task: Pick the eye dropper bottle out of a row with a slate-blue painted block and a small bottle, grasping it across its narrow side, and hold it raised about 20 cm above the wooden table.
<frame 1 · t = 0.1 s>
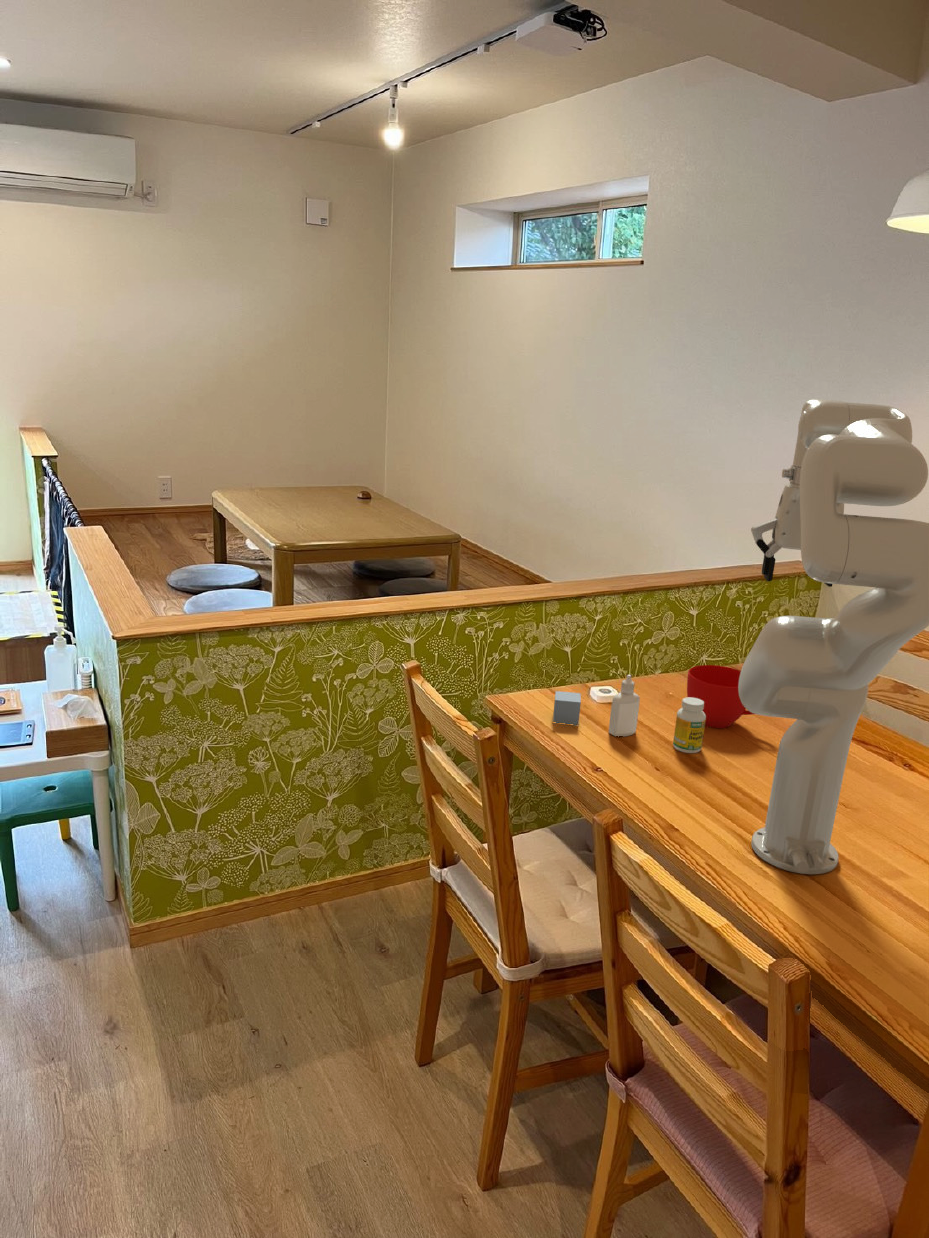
hand: (797, 582, 157), 37 cm above the table, tool pointing down, fingers open, 9 cm apart
eye dropper bottle: (621, 733, 185), on the table
slate block: (565, 719, 190), on the table
supplement bottle: (686, 748, 180), on the table
ceramic cup: (723, 725, 193), on the table
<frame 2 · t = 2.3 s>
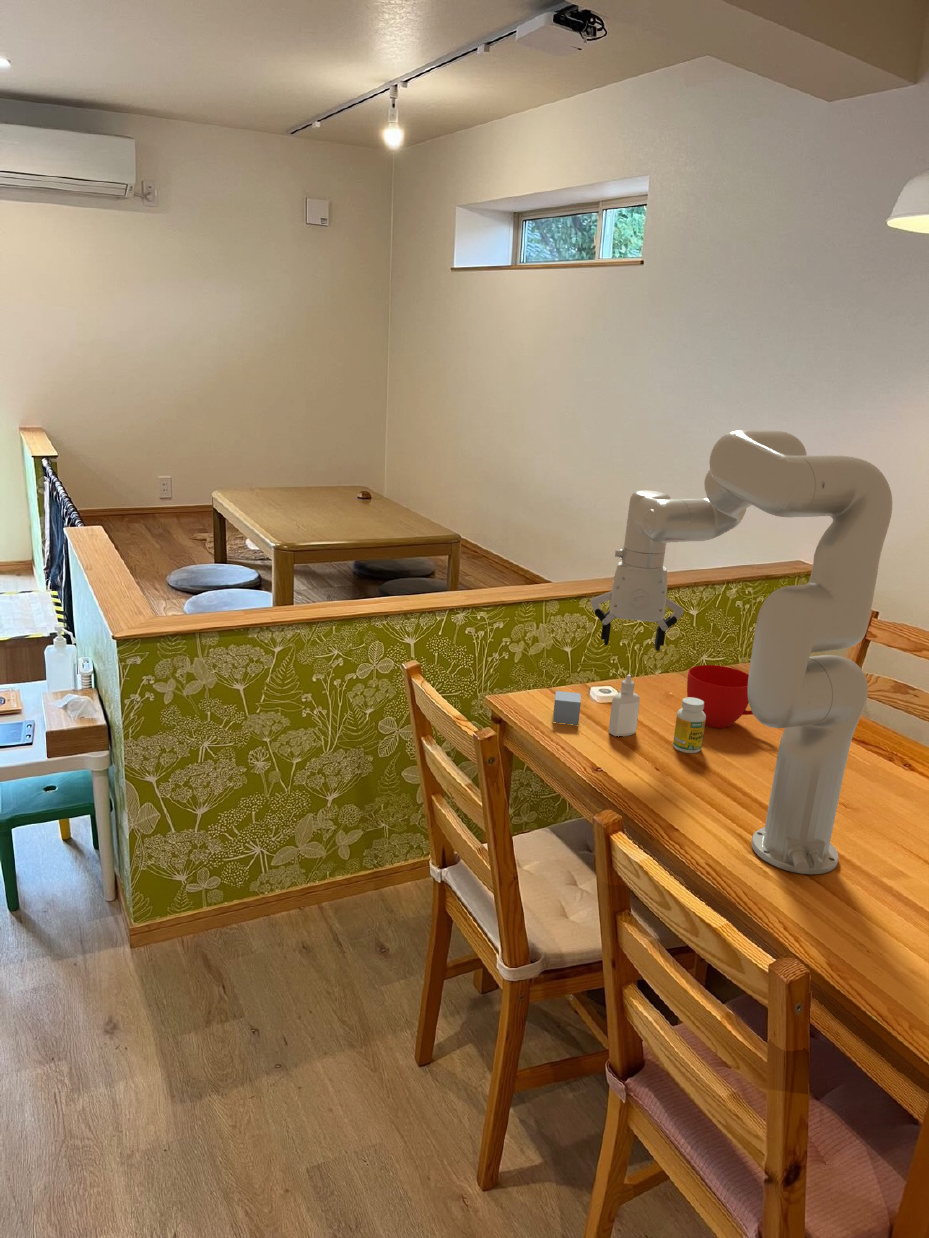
hand: (631, 645, 180), 18 cm above the table, tool pointing down, fingers open, 9 cm apart
nothing on the table moved.
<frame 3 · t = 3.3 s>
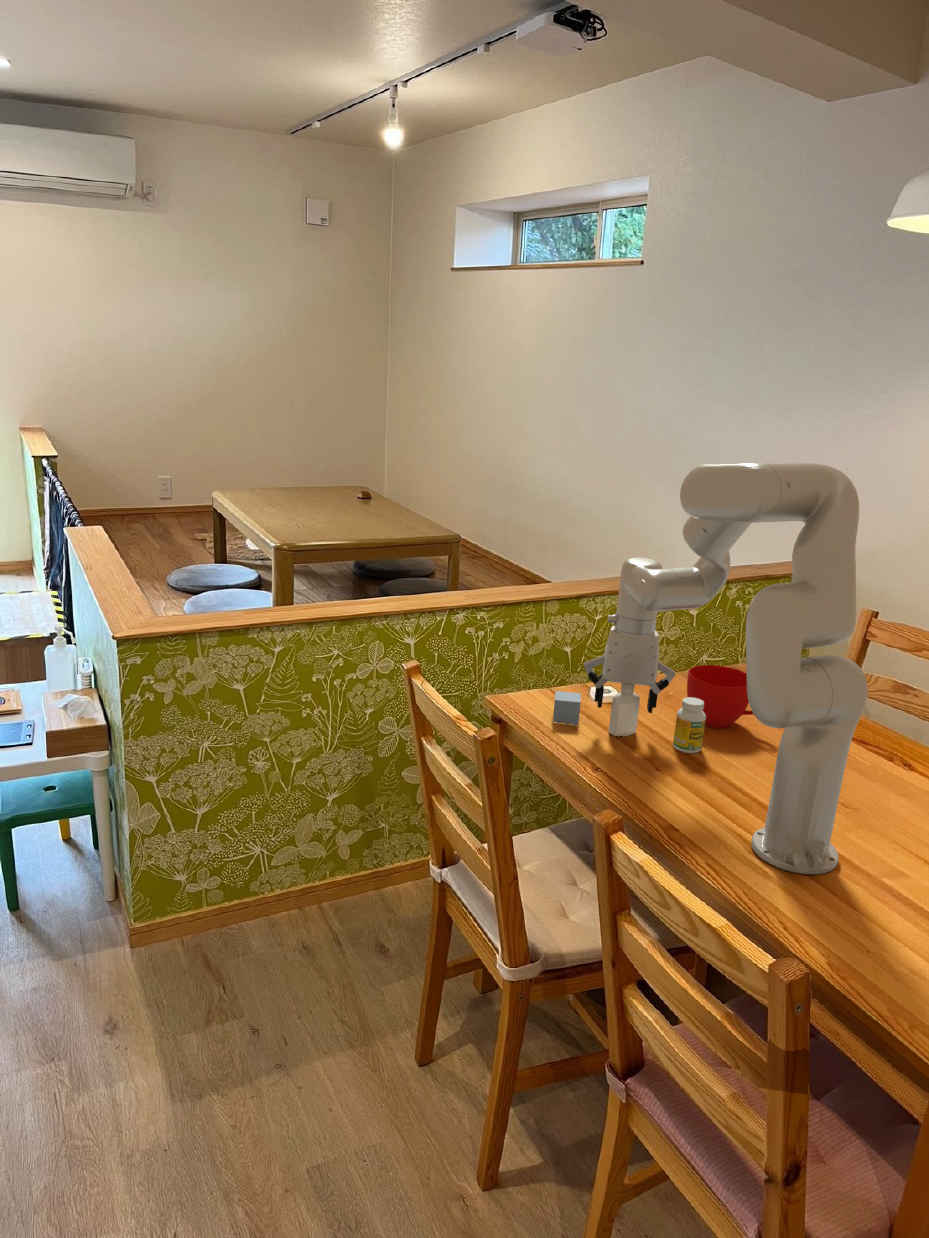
hand: (624, 707, 184), 5 cm above the table, tool pointing down, fingers open, 9 cm apart
nothing on the table moved.
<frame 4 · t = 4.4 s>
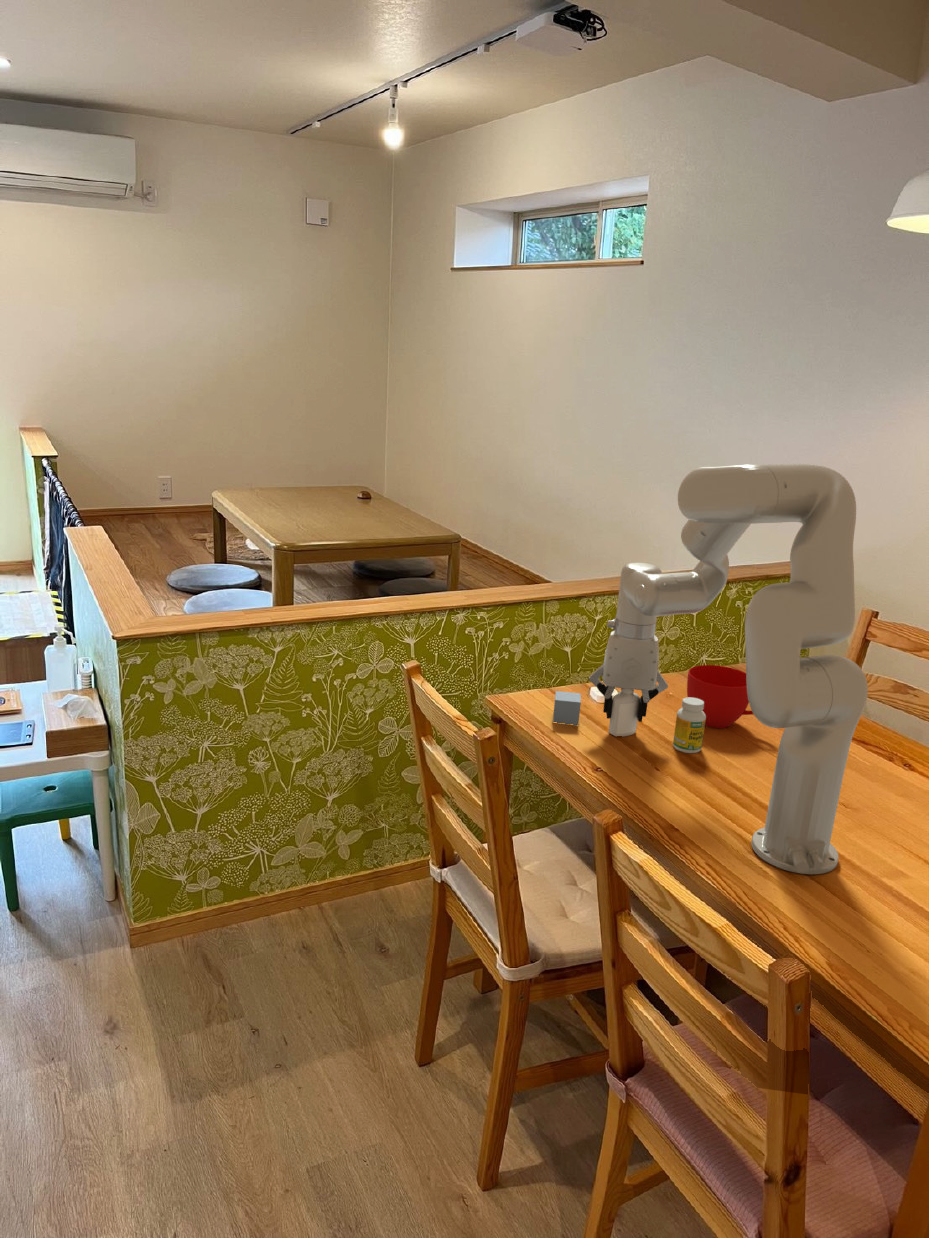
hand: (624, 716, 184), 3 cm above the table, tool pointing down, fingers closed on eye dropper bottle, 5 cm apart
eye dropper bottle: (622, 733, 185), on the table, touching gripper
everything else where it was.
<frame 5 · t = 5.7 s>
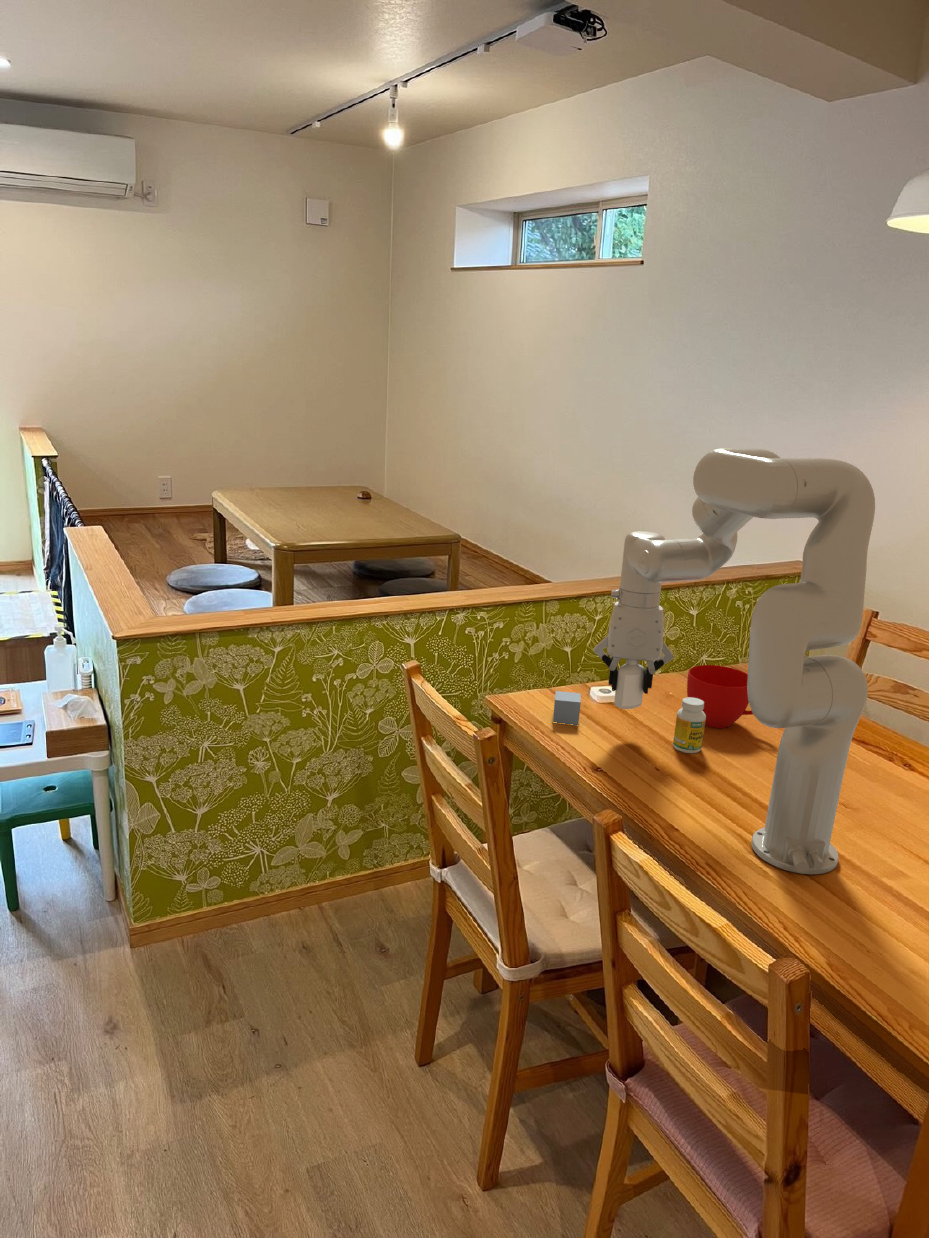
hand: (629, 689, 182), 9 cm above the table, tool pointing down, fingers closed on eye dropper bottle, 5 cm apart
eye dropper bottle: (627, 706, 183), point 6 cm above the table, touching gripper
everything else where it was.
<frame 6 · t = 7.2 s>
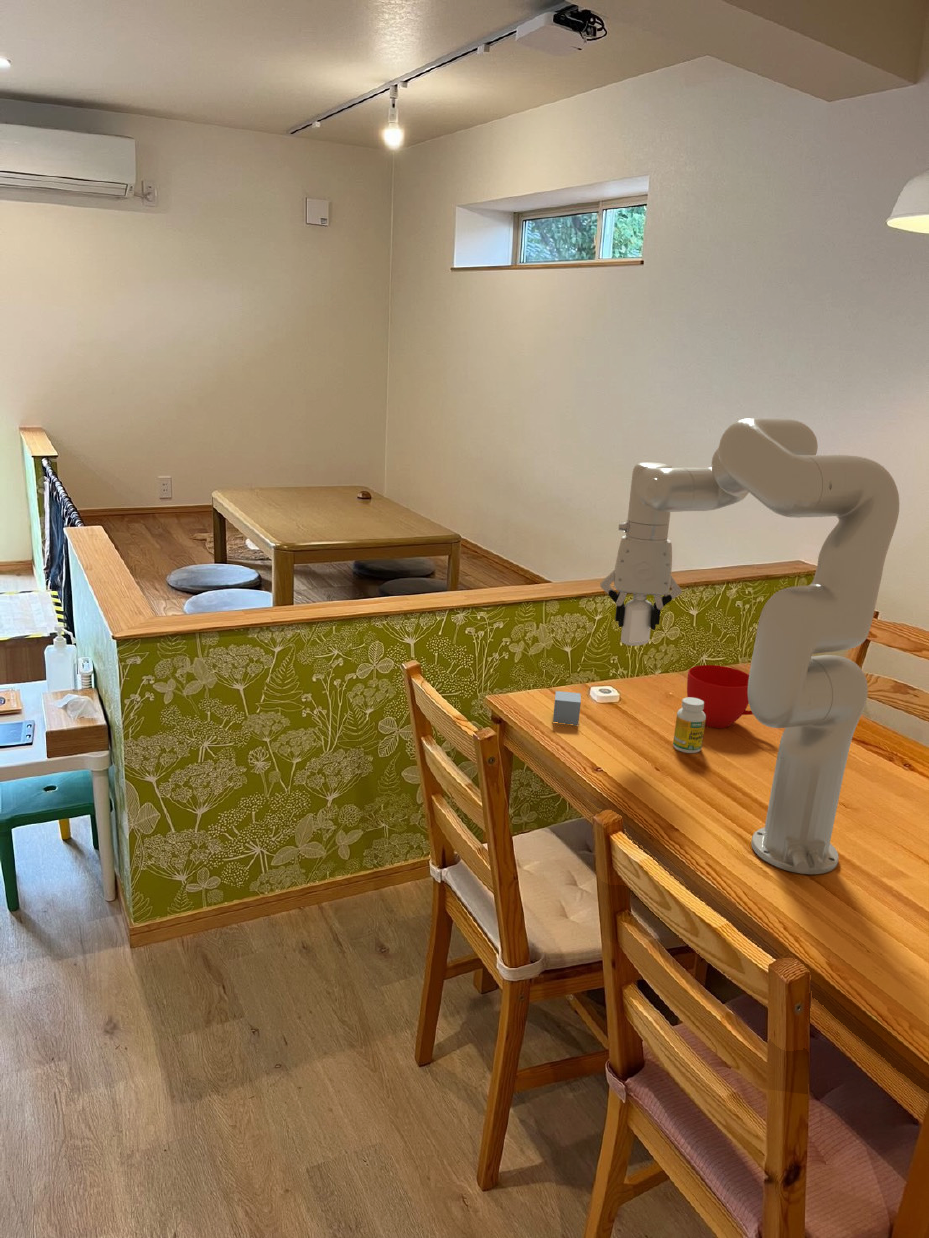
hand: (636, 625, 178), 22 cm above the table, tool pointing down, fingers closed on eye dropper bottle, 5 cm apart
eye dropper bottle: (634, 643, 179), point 18 cm above the table, touching gripper
everything else where it was.
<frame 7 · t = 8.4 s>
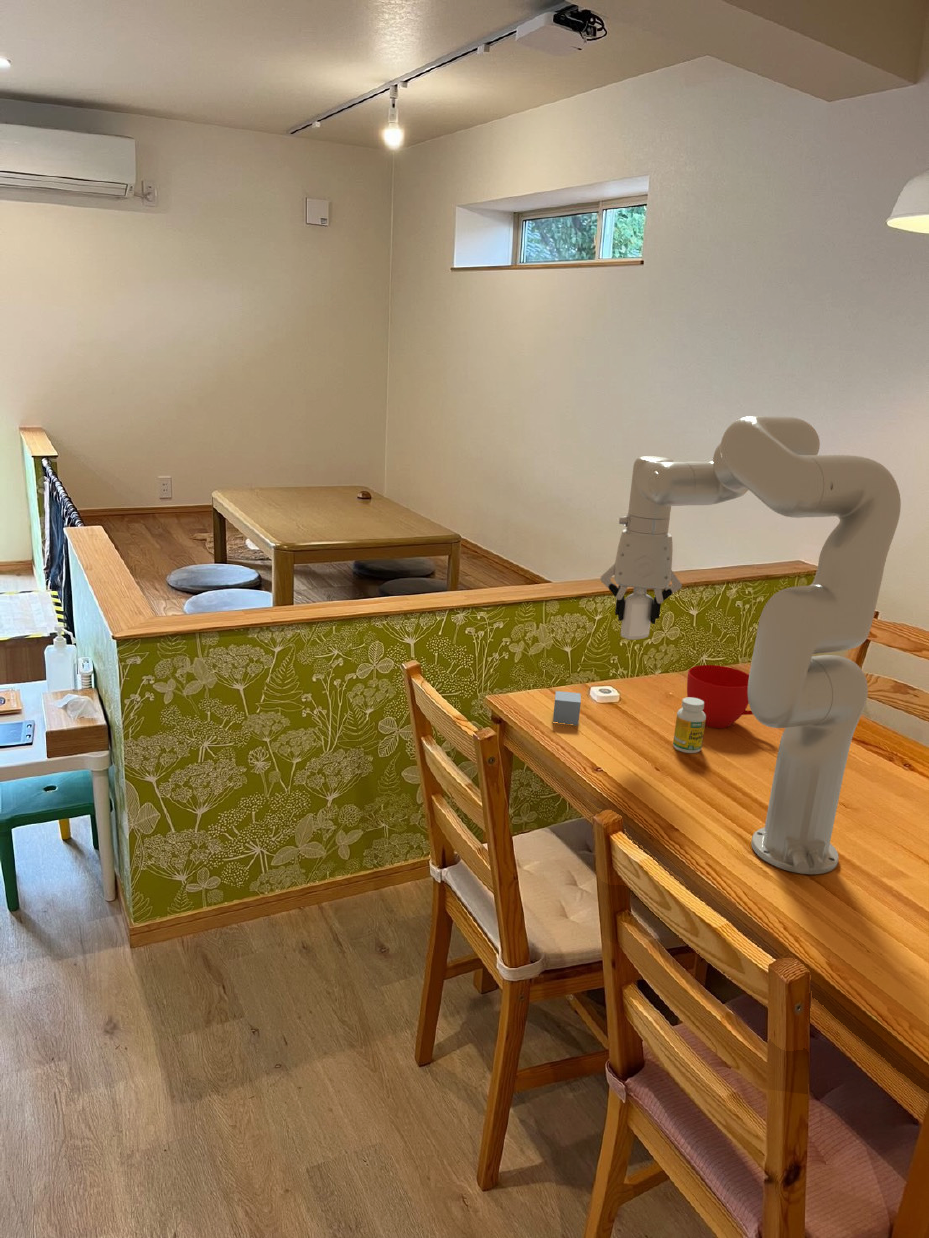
hand: (636, 619, 178), 23 cm above the table, tool pointing down, fingers closed on eye dropper bottle, 5 cm apart
eye dropper bottle: (634, 637, 179), point 20 cm above the table, touching gripper
everything else where it was.
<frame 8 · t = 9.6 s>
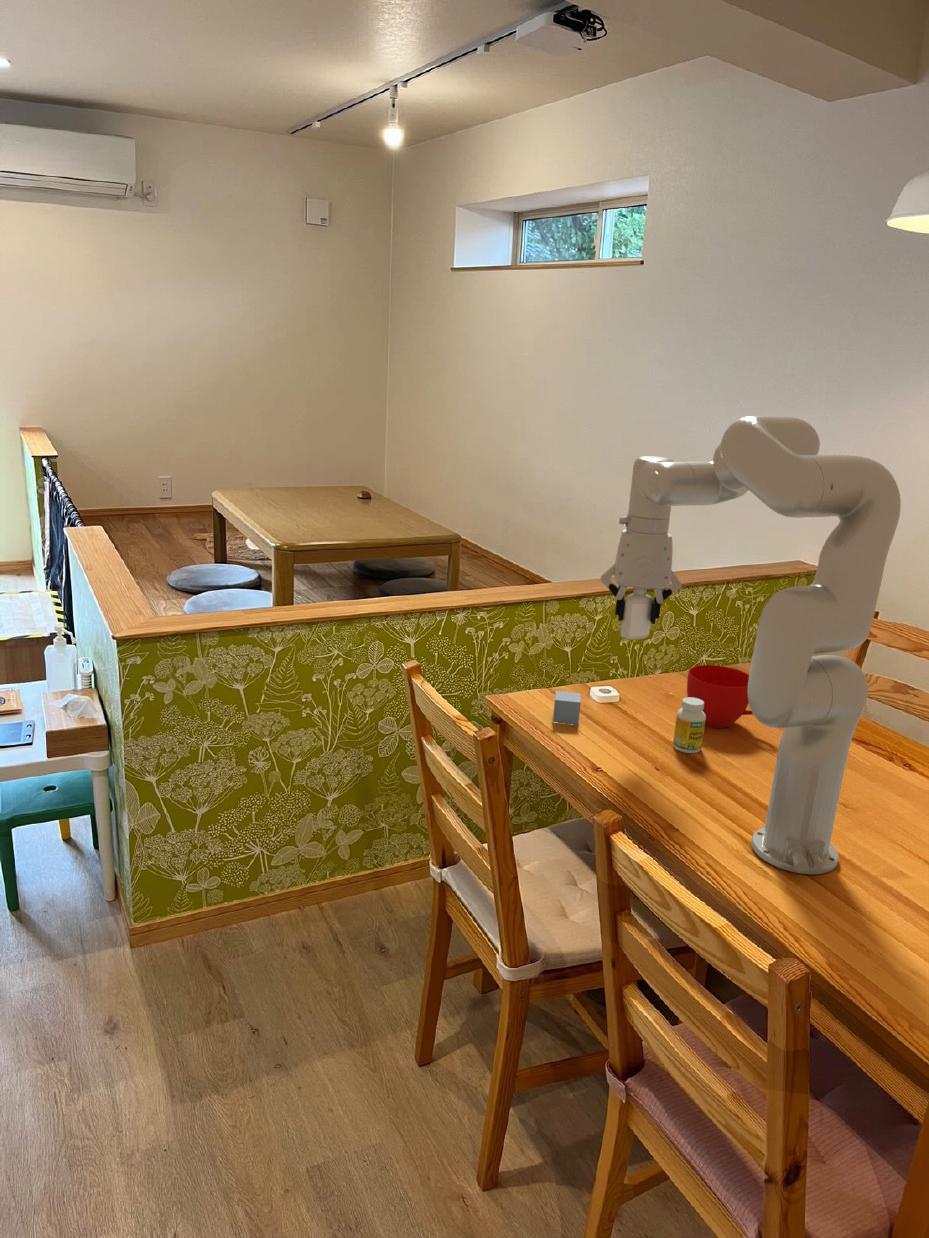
hand: (636, 619, 178), 23 cm above the table, tool pointing down, fingers closed on eye dropper bottle, 5 cm apart
eye dropper bottle: (634, 637, 179), point 20 cm above the table, touching gripper
everything else where it was.
at the end: the gripper is holding eye dropper bottle; eye dropper bottle point 19.6 cm above the table; slate block moved 0.1 cm from its start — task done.
